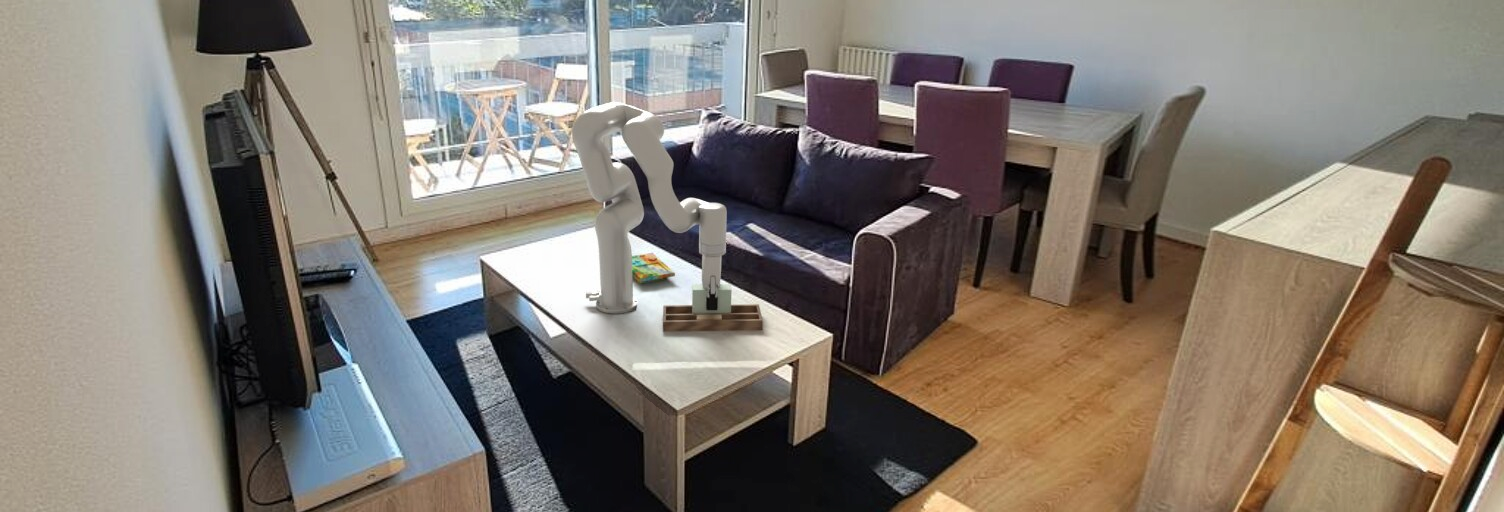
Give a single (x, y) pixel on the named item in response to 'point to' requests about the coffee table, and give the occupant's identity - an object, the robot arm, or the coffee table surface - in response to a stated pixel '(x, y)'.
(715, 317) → the offcut upper
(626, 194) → the robot arm
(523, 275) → the coffee table surface
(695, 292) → the pale green block
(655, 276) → the puzzle game
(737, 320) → the tray
